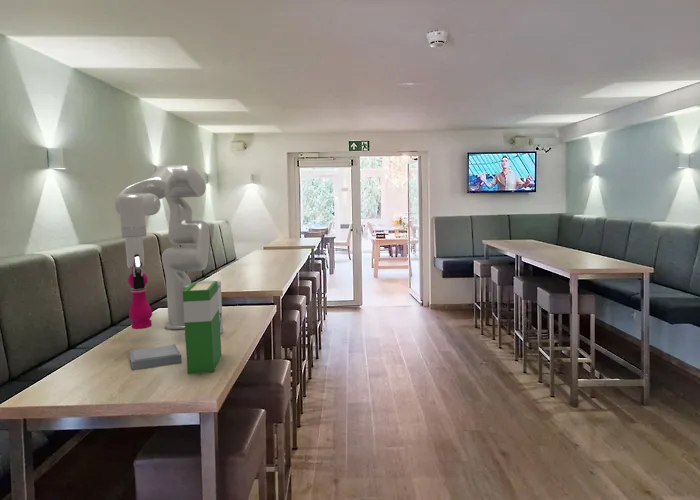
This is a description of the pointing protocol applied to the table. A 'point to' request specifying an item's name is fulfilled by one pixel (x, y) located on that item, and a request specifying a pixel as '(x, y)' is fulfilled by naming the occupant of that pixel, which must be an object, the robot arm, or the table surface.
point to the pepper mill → (139, 306)
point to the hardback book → (202, 327)
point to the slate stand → (154, 357)
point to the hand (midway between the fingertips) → (138, 286)
